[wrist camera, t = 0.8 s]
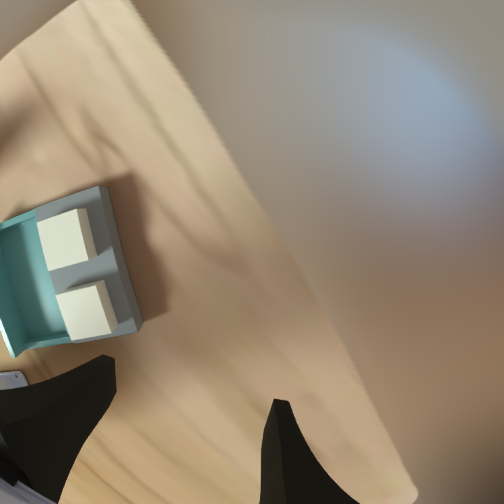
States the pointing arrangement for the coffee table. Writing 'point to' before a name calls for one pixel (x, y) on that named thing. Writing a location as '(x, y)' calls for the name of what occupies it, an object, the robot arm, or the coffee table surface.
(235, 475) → the coffee table surface
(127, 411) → the coffee table surface
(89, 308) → the tile
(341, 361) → the coffee table surface
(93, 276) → the grey flat block
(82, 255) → the tile
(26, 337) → the box
